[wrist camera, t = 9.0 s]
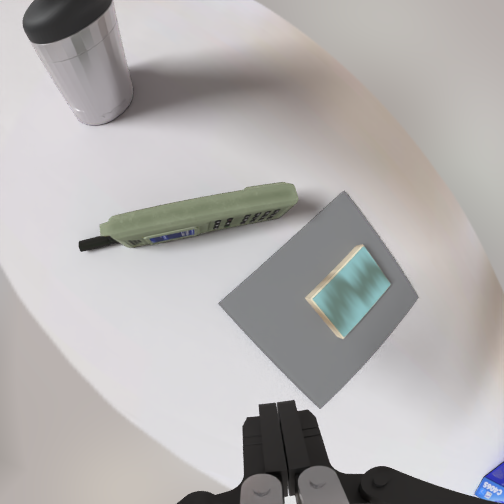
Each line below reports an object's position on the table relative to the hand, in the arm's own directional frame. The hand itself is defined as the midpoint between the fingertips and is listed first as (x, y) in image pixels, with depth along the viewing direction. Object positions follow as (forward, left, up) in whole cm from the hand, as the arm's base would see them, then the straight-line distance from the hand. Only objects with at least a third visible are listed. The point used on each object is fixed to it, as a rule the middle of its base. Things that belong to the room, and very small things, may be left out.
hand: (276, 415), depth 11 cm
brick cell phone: (-12, +4, -23) cm, 27 cm away
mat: (+7, +12, -23) cm, 27 cm away
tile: (+7, +10, -21) cm, 24 cm away
